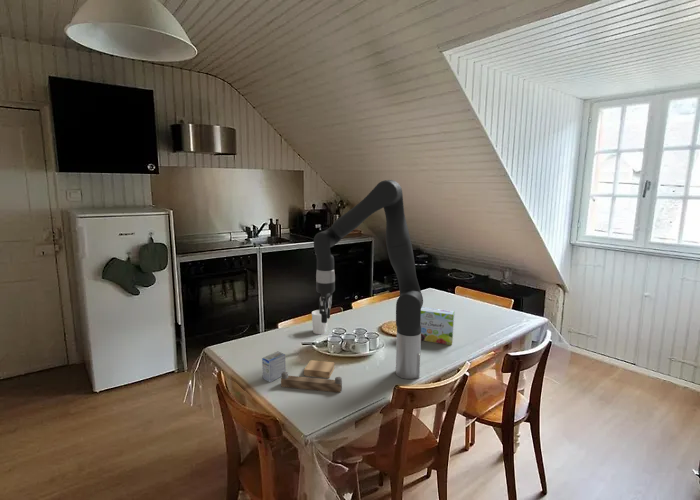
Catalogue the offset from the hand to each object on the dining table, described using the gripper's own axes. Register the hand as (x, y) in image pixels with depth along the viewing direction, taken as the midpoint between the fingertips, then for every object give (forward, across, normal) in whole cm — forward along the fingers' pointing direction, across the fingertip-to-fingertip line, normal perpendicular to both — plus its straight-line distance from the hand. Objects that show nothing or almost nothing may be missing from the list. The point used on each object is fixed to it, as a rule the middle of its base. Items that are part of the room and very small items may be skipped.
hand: (325, 320), depth 166 cm
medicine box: (+18, -18, +16) cm, 30 cm away
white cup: (+18, +29, +10) cm, 35 cm away
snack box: (+18, +29, -43) cm, 55 cm away
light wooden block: (+18, -11, 0) cm, 21 cm away
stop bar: (+17, -23, 0) cm, 29 cm away
